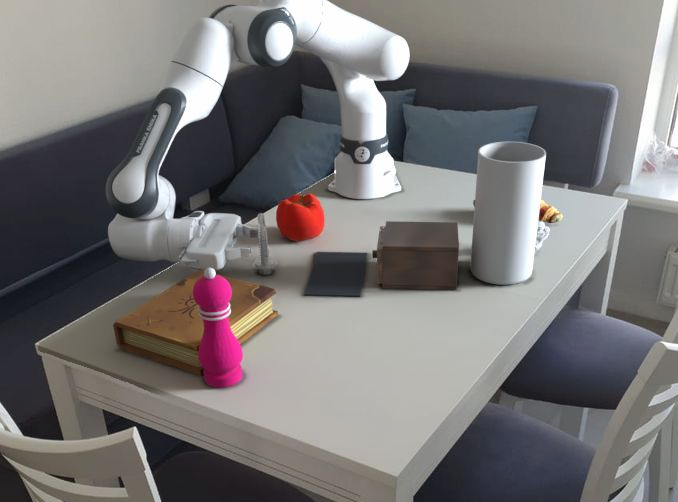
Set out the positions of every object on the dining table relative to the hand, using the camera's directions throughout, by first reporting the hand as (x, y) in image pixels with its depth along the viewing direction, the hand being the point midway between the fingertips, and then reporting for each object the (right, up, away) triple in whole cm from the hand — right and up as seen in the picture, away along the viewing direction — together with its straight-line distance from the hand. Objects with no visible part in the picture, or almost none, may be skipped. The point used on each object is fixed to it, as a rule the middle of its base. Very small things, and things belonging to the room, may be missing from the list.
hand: (254, 241), depth 162 cm
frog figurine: (+58, -1, +9) cm, 59 cm away
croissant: (+58, +10, +25) cm, 64 cm away
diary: (-8, -20, -17) cm, 27 cm away
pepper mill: (-2, -28, -30) cm, 41 cm away
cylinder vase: (+50, -6, +1) cm, 51 cm away
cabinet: (+34, -7, +1) cm, 34 cm away
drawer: (+31, -6, 0) cm, 32 cm away
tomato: (+9, +4, +19) cm, 21 cm away
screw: (+2, -6, +4) cm, 7 cm away
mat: (+17, -6, +2) cm, 18 cm away
